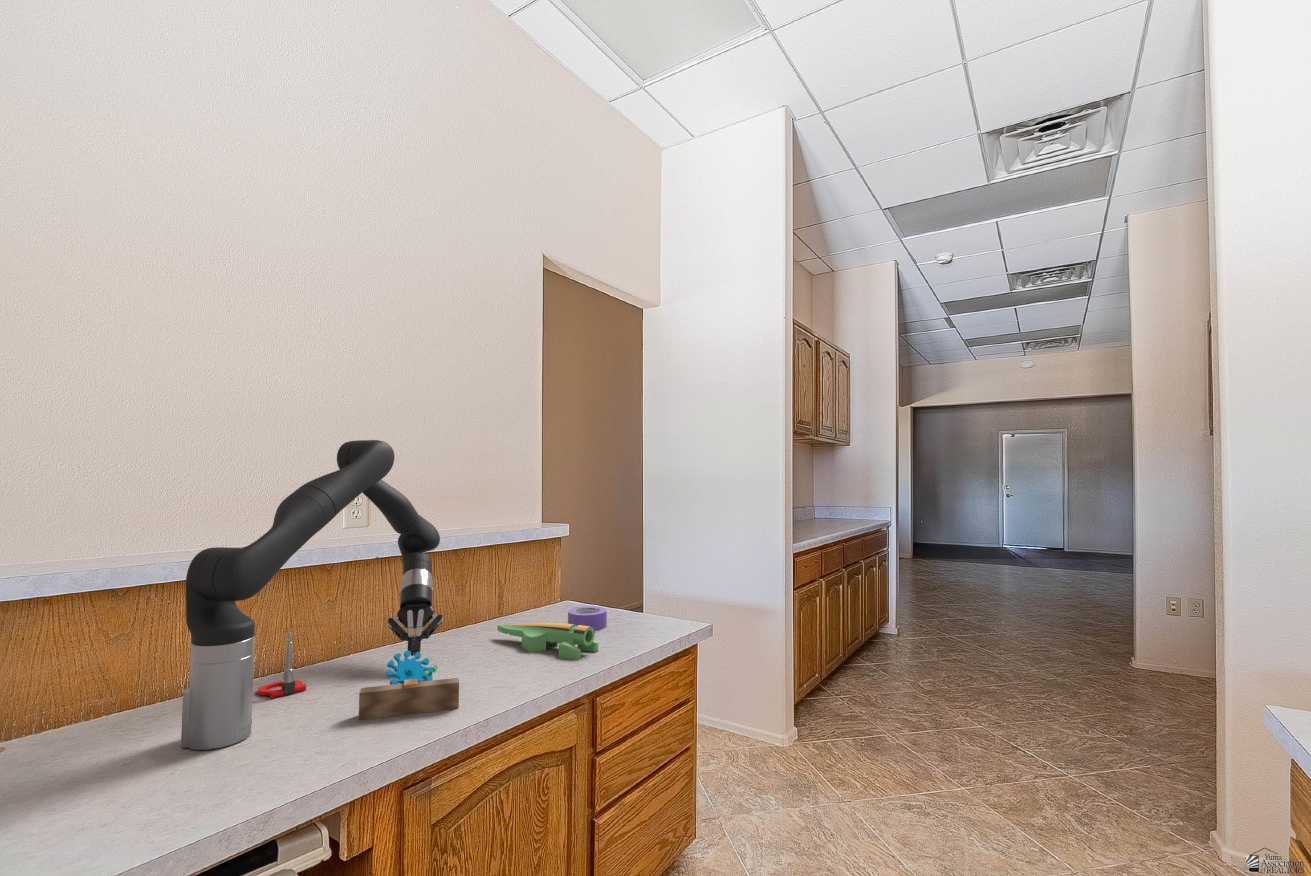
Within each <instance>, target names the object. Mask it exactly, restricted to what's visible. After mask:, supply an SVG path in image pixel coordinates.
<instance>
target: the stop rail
mask: <svg viewBox="0 0 1311 876" xmlns="http://www.w3.org/2000/svg"><path fill="white" fill-rule="evenodd" d="M358 697H359V698H358V700H359V701H358V721H364V720H370V719H379V718H387V717H396V716H397V717H398V716H403V715H411V714H413V715H414V714H420V713H428V712H437V711H446V710H447V711H448V710H455V709H460V707H459V706H460V703H459V702H460V699H459V698H460V679H459V677H452V678H443V679H435V680H434V679H432V680H431V681H422V682H418V679H410V680H405V681H404V683H403V684H400V683H398V684H394V685H390V684H386V685H377V686H367V687H365V686H364V687H361V688H360V690H359V696H358Z"/></svg>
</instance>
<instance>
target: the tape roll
mask: <svg viewBox="0 0 1311 876" xmlns="http://www.w3.org/2000/svg"><path fill="white" fill-rule="evenodd" d="M607 613H608V612H607V609H606V608H605V607H602V606H594V605H588V606H587V605H585V606H576V607H573V608H570V609H569V610H568V611H567V624H575V625H577V626H578V625H583V626H590V627H592V628H593V629H594V632H595V631H596V632H597V631H600V630H603V629H605V628H607V626H608V625H607V623H608V620H607V618H608V615H607Z"/></svg>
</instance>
